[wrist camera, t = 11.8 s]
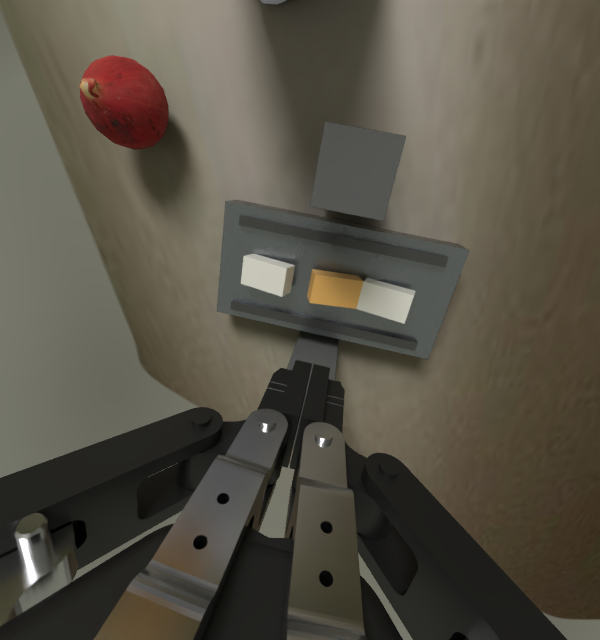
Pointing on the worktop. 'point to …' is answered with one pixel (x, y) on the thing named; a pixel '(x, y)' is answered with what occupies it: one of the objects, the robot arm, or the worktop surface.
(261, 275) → the paddle
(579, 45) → the worktop surface
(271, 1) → the soap bottle
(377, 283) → the paddle
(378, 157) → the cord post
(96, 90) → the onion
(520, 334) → the worktop surface
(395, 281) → the breaker panel
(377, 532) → the robot arm
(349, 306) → the orange block
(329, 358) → the cord post
